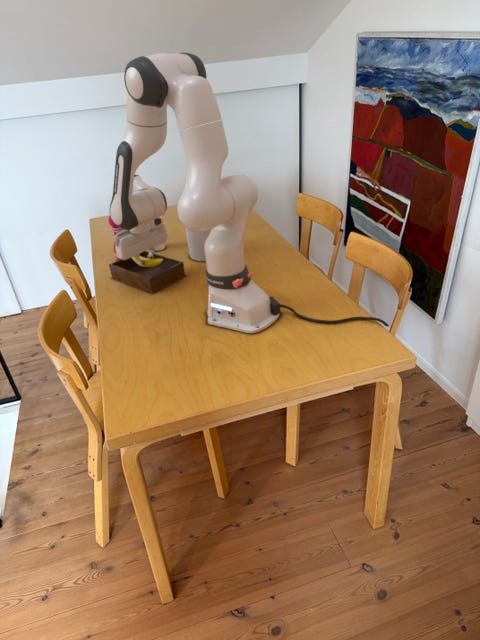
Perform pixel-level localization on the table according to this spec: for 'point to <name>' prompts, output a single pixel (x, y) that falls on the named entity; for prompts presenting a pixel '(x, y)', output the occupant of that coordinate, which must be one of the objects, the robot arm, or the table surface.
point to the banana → (149, 262)
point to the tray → (148, 273)
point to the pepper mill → (115, 231)
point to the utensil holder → (197, 243)
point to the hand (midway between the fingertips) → (146, 262)
